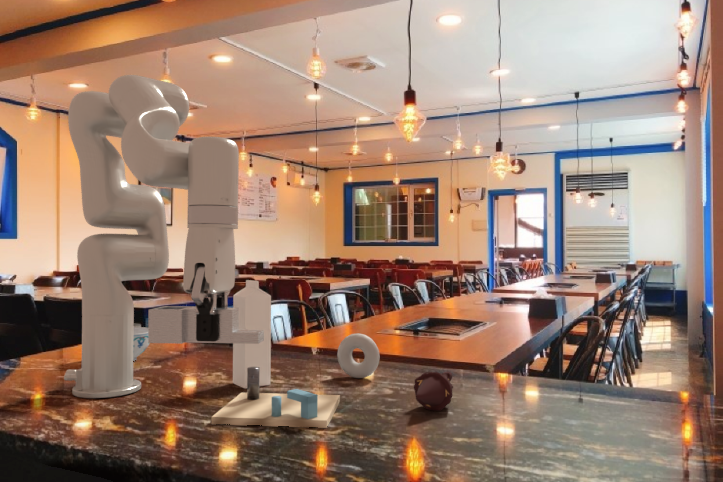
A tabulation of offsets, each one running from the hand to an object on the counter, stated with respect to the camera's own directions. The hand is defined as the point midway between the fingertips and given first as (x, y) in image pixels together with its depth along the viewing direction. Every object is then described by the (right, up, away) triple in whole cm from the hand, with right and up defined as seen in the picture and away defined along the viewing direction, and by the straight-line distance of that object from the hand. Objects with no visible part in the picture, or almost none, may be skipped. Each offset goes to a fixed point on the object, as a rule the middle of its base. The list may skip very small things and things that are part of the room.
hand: (211, 337), depth 86 cm
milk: (0, -16, +34) cm, 37 cm away
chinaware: (-38, -16, +58) cm, 72 cm away
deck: (+9, -15, +13) cm, 22 cm away
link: (-1, -1, 0) cm, 1 cm away
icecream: (+36, -16, +15) cm, 42 cm away
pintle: (+3, -14, +17) cm, 22 cm away
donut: (+22, -16, +39) cm, 48 cm away
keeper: (+12, -15, +6) cm, 20 cm away
